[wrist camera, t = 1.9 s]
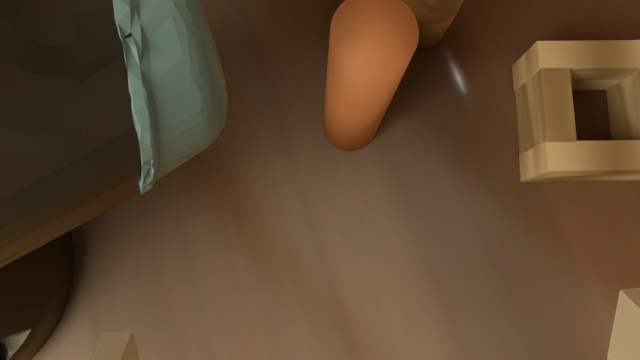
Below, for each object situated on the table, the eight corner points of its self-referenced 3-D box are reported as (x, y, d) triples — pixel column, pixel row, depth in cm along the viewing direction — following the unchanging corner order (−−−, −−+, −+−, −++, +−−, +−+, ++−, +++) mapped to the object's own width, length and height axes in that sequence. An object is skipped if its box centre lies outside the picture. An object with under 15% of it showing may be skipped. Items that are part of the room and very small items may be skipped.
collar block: (520, 181, 34) (548, 170, 30) (511, 65, 35) (537, 41, 31) (643, 180, 34) (686, 169, 30) (629, 64, 35) (669, 39, 31)
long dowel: (323, 151, 34) (330, 75, 20) (322, 99, 35) (329, -9, 21) (377, 150, 34) (420, 74, 20) (375, 98, 35) (416, -10, 21)
